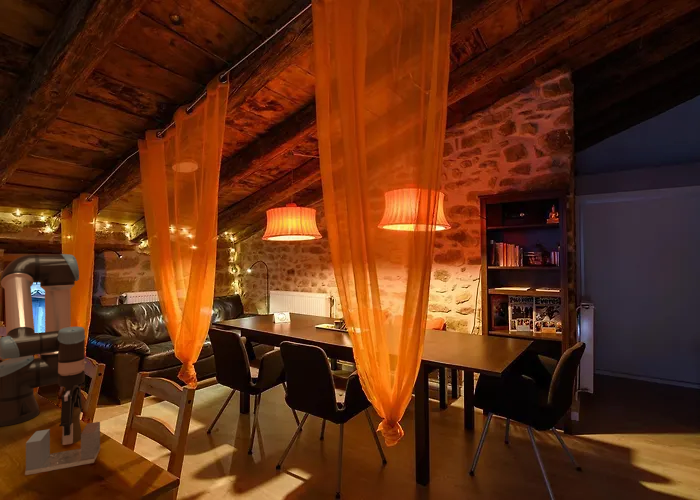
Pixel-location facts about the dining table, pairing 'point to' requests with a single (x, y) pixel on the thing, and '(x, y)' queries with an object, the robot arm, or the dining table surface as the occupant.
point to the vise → (74, 452)
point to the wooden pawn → (75, 425)
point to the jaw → (37, 449)
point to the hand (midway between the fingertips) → (71, 437)
